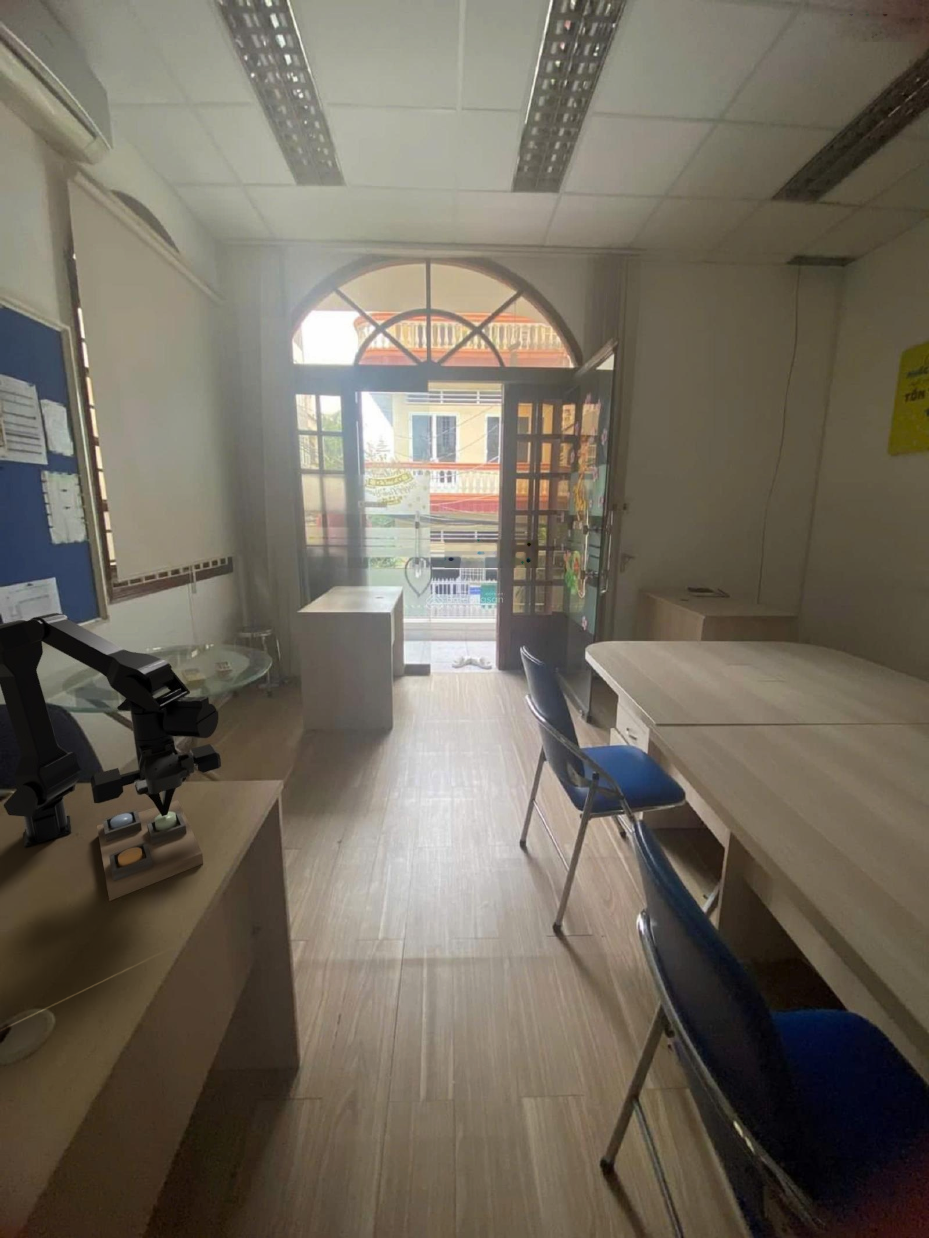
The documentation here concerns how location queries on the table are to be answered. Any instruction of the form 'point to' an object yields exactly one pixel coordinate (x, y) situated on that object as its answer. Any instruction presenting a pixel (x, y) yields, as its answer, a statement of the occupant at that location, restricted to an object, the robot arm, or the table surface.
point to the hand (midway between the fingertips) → (164, 814)
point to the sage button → (165, 821)
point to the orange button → (130, 856)
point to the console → (147, 850)
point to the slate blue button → (121, 820)
